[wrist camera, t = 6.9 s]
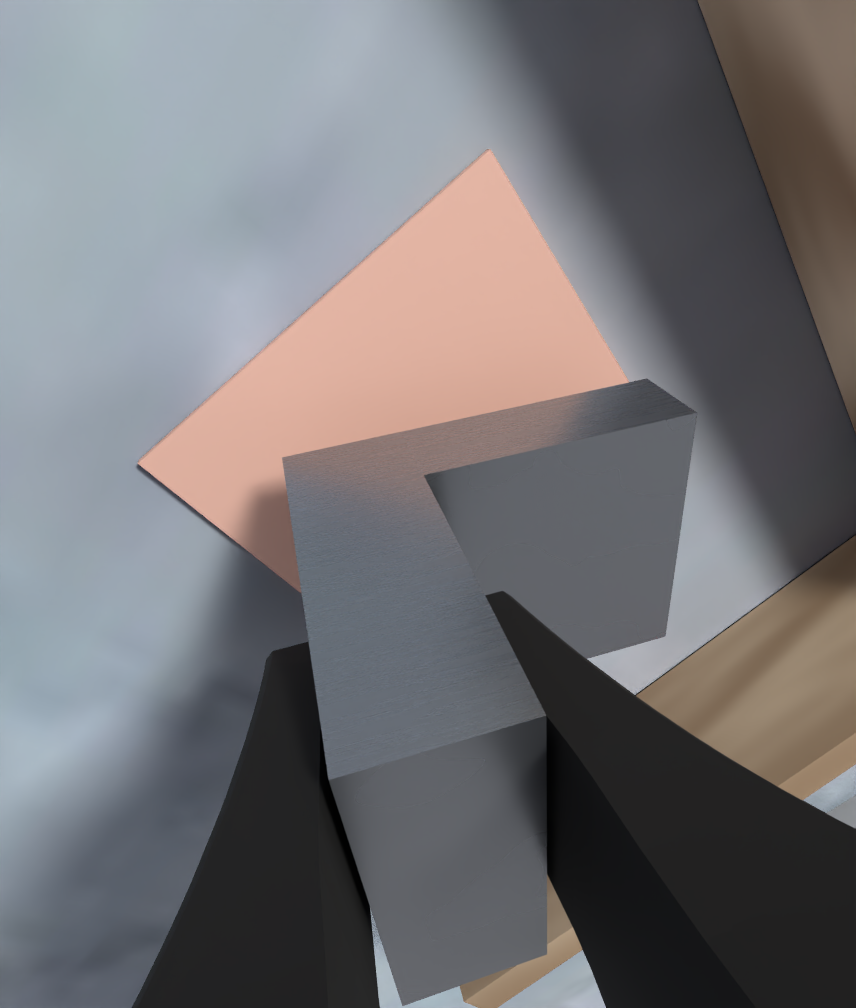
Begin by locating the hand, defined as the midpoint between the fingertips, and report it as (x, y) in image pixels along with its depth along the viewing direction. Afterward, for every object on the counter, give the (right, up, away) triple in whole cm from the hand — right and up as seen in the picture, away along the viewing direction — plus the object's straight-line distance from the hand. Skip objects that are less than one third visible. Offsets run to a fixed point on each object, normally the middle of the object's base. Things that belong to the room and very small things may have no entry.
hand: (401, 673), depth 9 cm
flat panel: (0, +3, +4) cm, 5 cm away
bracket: (+1, +2, +3) cm, 4 cm away
